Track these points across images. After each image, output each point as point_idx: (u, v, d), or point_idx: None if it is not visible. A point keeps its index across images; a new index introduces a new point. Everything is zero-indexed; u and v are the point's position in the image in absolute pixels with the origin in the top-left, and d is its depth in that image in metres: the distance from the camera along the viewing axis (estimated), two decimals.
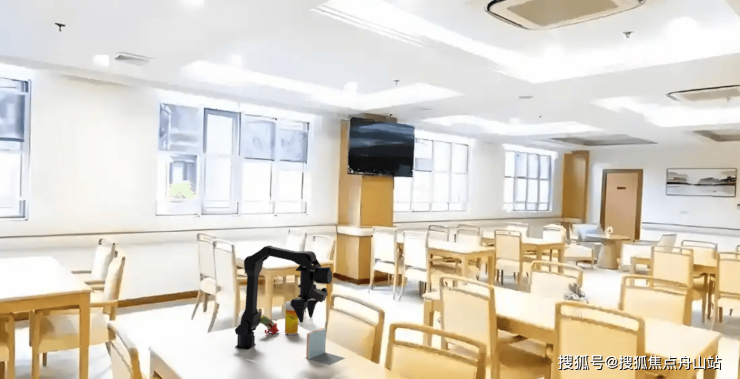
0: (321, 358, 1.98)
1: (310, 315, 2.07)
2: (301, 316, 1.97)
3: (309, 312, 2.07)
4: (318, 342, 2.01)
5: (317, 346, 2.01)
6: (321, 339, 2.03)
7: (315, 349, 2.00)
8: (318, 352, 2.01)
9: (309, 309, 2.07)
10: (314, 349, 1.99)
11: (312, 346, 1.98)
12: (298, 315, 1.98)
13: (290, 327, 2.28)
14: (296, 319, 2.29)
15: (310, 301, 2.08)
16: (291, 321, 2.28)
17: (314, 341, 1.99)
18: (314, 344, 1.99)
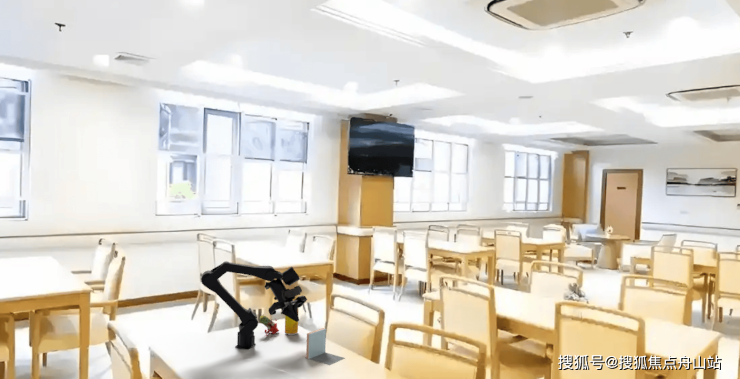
0: (321, 358, 1.98)
1: None
2: (293, 316, 2.07)
3: None
4: (318, 342, 2.01)
5: (317, 346, 2.01)
6: (321, 339, 2.03)
7: (315, 349, 2.00)
8: (318, 352, 2.01)
9: None
10: (314, 349, 1.99)
11: (312, 346, 1.98)
12: (291, 317, 2.08)
13: (290, 327, 2.28)
14: None
15: None
16: (291, 321, 2.28)
17: (314, 341, 1.99)
18: (314, 344, 1.99)
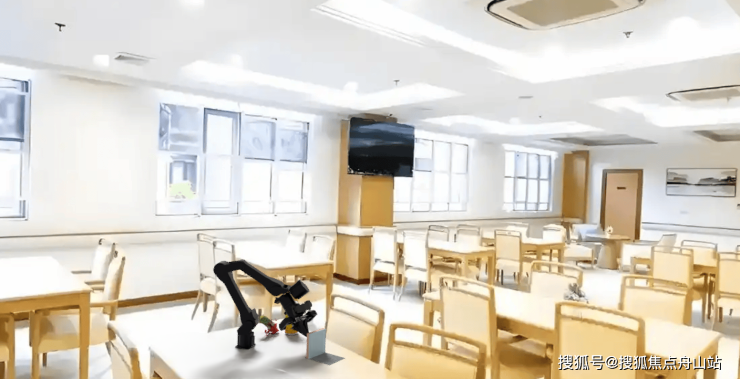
0: (321, 358, 1.98)
1: None
2: (303, 331, 2.04)
3: None
4: (318, 342, 2.01)
5: (317, 346, 2.01)
6: (321, 339, 2.03)
7: (315, 349, 2.00)
8: (318, 352, 2.01)
9: None
10: (314, 349, 1.99)
11: (312, 346, 1.98)
12: (301, 332, 2.04)
13: (290, 327, 2.28)
14: None
15: None
16: None
17: (314, 341, 1.99)
18: (314, 344, 1.99)
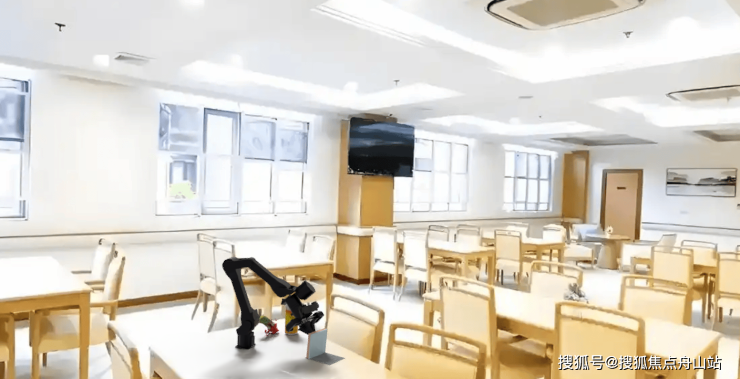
0: (321, 358, 1.98)
1: None
2: (310, 332, 2.02)
3: None
4: (319, 342, 2.01)
5: (318, 346, 2.01)
6: (322, 339, 2.03)
7: (315, 349, 2.00)
8: (318, 352, 2.01)
9: None
10: (314, 349, 1.99)
11: (313, 346, 1.98)
12: None
13: None
14: None
15: None
16: None
17: (315, 341, 1.99)
18: (315, 344, 1.99)
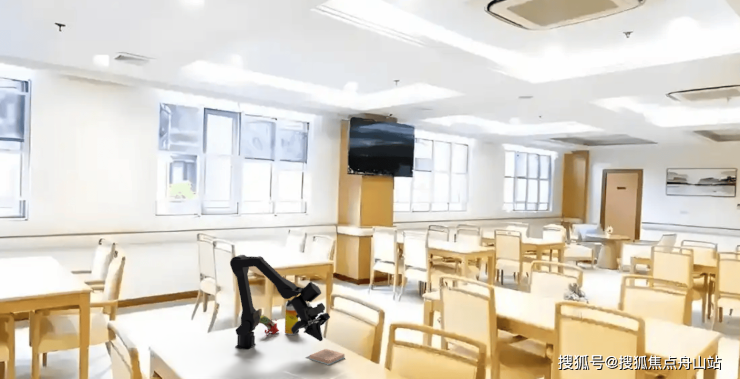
0: None
1: None
2: (316, 335, 2.00)
3: None
4: None
5: None
6: None
7: None
8: None
9: None
10: None
11: None
12: (314, 336, 2.00)
13: (290, 327, 2.28)
14: (296, 319, 2.29)
15: None
16: (291, 321, 2.28)
17: None
18: None
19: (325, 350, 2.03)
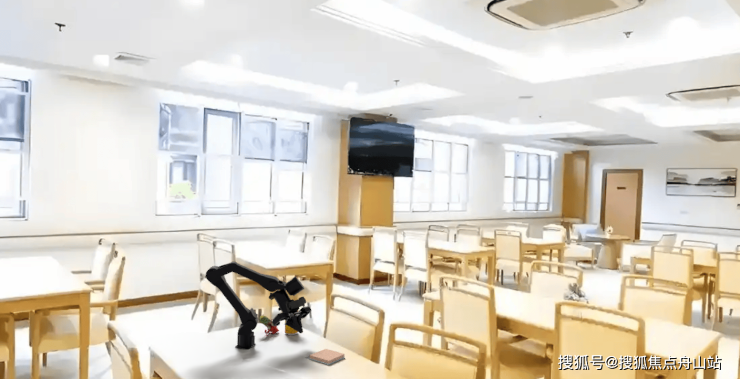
0: None
1: None
2: (297, 327, 2.06)
3: None
4: None
5: None
6: None
7: None
8: None
9: None
10: None
11: None
12: (295, 328, 2.06)
13: (290, 327, 2.28)
14: None
15: None
16: None
17: None
18: None
19: (325, 350, 2.03)
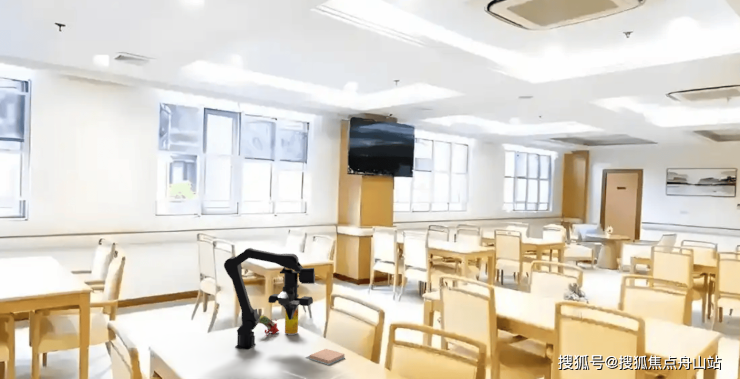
0: None
1: None
2: None
3: None
4: None
5: None
6: None
7: None
8: None
9: None
10: None
11: None
12: None
13: (290, 327, 2.28)
14: (296, 319, 2.29)
15: None
16: (291, 321, 2.28)
17: None
18: None
19: (325, 350, 2.03)
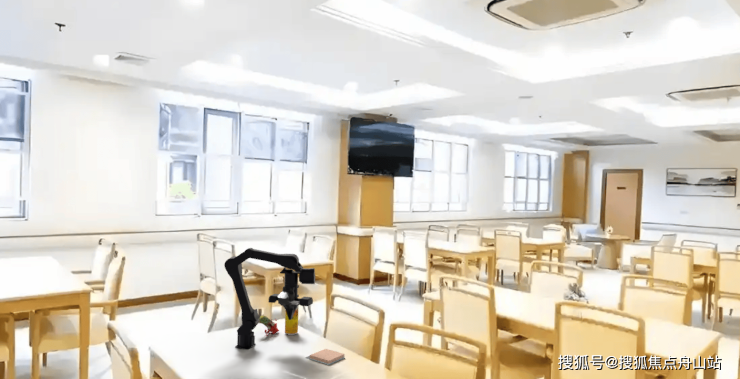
0: None
1: None
2: None
3: None
4: None
5: None
6: None
7: None
8: None
9: None
10: None
11: None
12: None
13: (290, 327, 2.28)
14: (296, 319, 2.29)
15: None
16: (291, 321, 2.28)
17: None
18: None
19: (325, 350, 2.03)
